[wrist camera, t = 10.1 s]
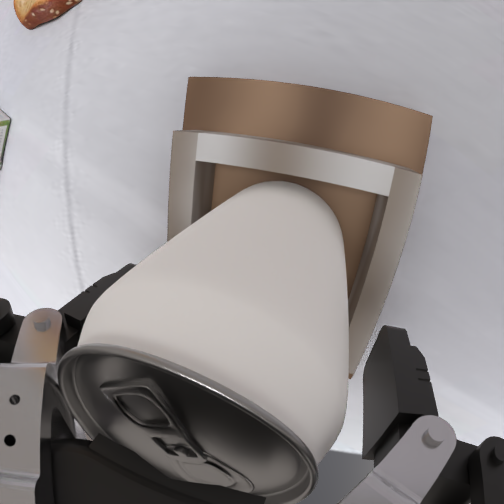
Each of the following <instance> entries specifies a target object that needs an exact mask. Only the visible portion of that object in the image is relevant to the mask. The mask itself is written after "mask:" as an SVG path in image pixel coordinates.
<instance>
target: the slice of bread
mask: <svg viewBox="0 0 504 504" xmlns="http://www.w3.org/2000/svg"><path fill="white" fill-rule="evenodd" d="M81 1H82V0H14V9H15V12H16V15H17V17H18V19H19V20H20V22H21V23H22V24H23V25H24V26H25V27H26V28H27V29H34V28H35V27H36V26H38V25H40V24H42V23H44V22H48V21H50V20H52V19H54V18H56V17H58V16H60V15H61V14H63V13H65V12H66V11H68V10H70V9H71V8H72V7H74V6H75V5H77V4H78V3H79V2H81Z"/></svg>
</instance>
